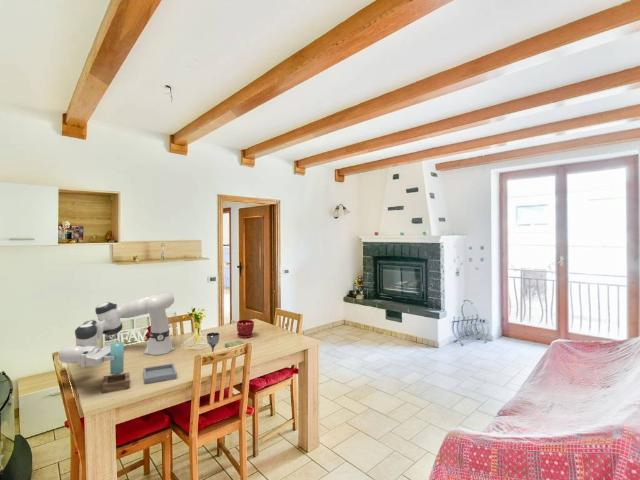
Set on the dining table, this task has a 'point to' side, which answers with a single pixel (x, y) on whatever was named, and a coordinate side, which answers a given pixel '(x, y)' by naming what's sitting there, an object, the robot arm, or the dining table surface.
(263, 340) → the dining table surface
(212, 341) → the wine glass
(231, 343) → the washcloth
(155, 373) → the tray
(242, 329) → the plant pot
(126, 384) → the cup holder
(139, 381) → the dining table surface
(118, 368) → the pillar candle
